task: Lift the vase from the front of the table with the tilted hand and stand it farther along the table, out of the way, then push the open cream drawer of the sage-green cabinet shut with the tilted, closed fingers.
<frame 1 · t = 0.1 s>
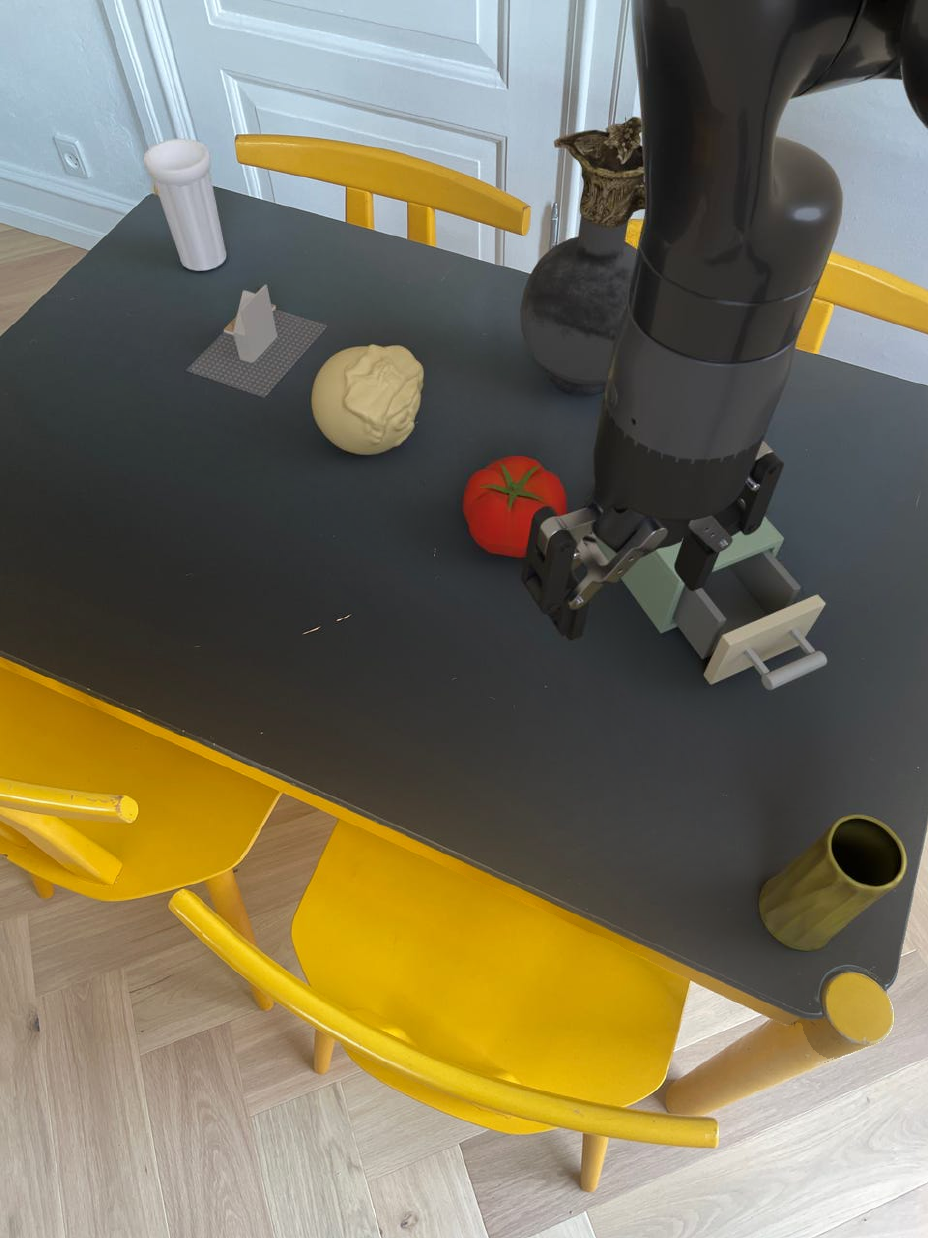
hand: (628, 603, 52), 27 cm above the table, tool pointing down, fingers open, 8 cm apart
tomato: (511, 532, 91), on the table
cabinet: (672, 564, 88), on the table
sculpture: (370, 434, 99), on the table
architectural model: (258, 348, 107), on the table
pitcher: (593, 381, 105), on the table
drawer: (740, 611, 80), point 4 cm above the table, slide at 6.0 cm
cup: (204, 260, 118), on the table
vase: (795, 912, 69), on the table
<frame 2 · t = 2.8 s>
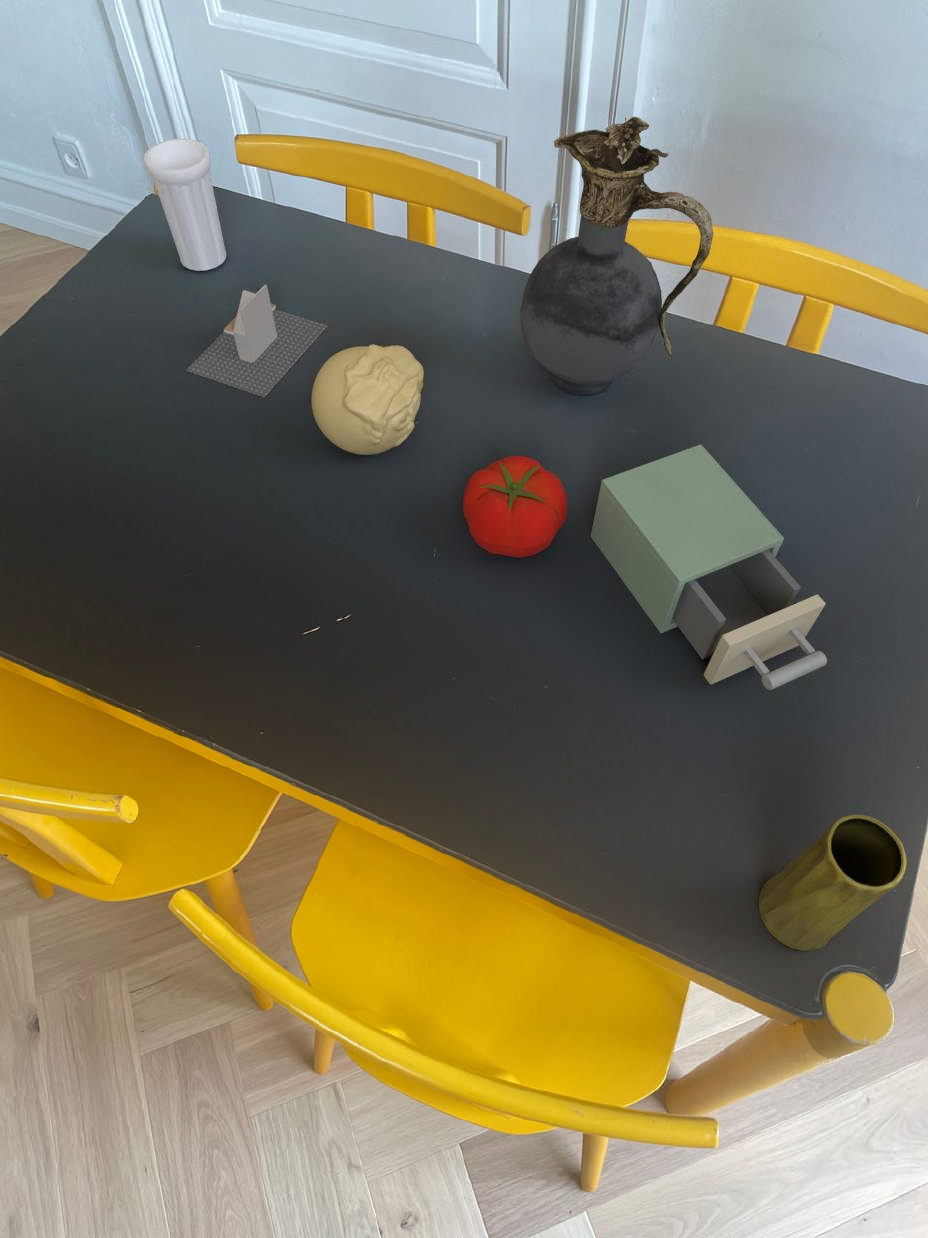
nothing on the table moved.
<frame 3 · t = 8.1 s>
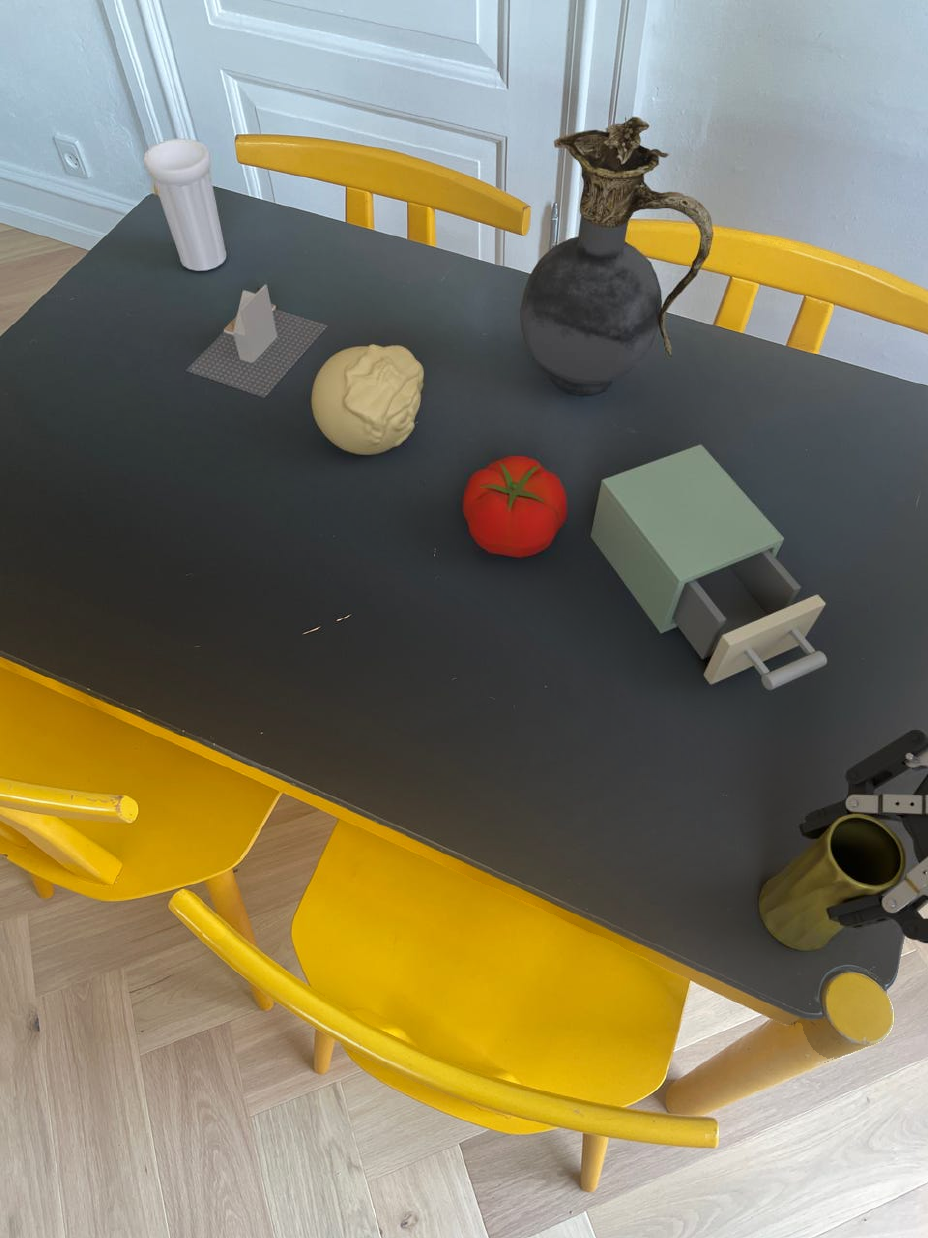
hand: (819, 873, 60), 10 cm above the table, tool tilted 45°, fingers closed on vase, 5 cm apart
vase: (795, 912, 69), on the table, touching gripper
everything else where it was.
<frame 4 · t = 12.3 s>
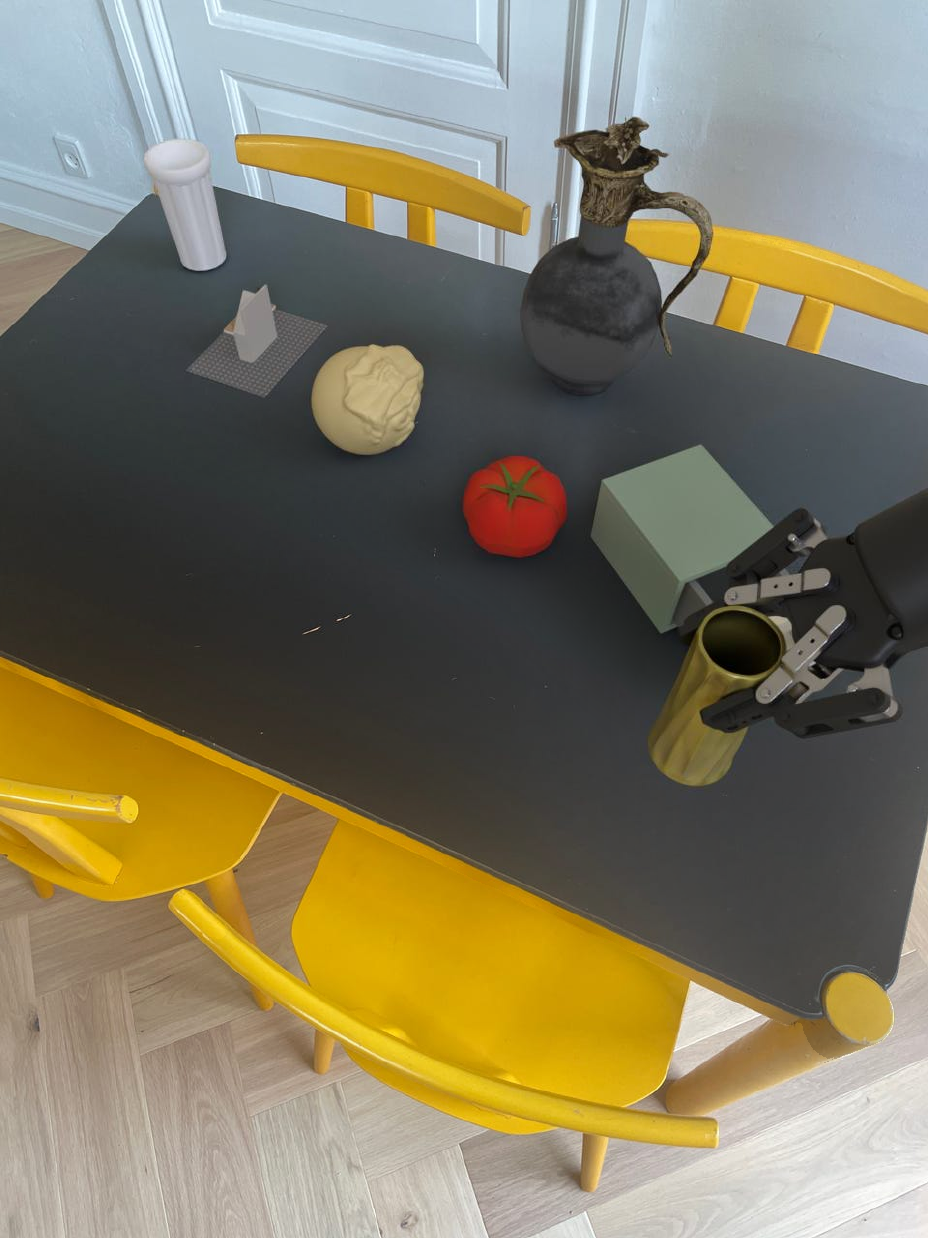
hand: (696, 679, 54), 23 cm above the table, tool tilted 45°, fingers closed on vase, 5 cm apart
vase: (688, 749, 62), point 13 cm above the table, touching gripper
everything else where it was.
when the fingers open (10 cm above the table, at t = 16.5 s): vase stays where it is, on the table.
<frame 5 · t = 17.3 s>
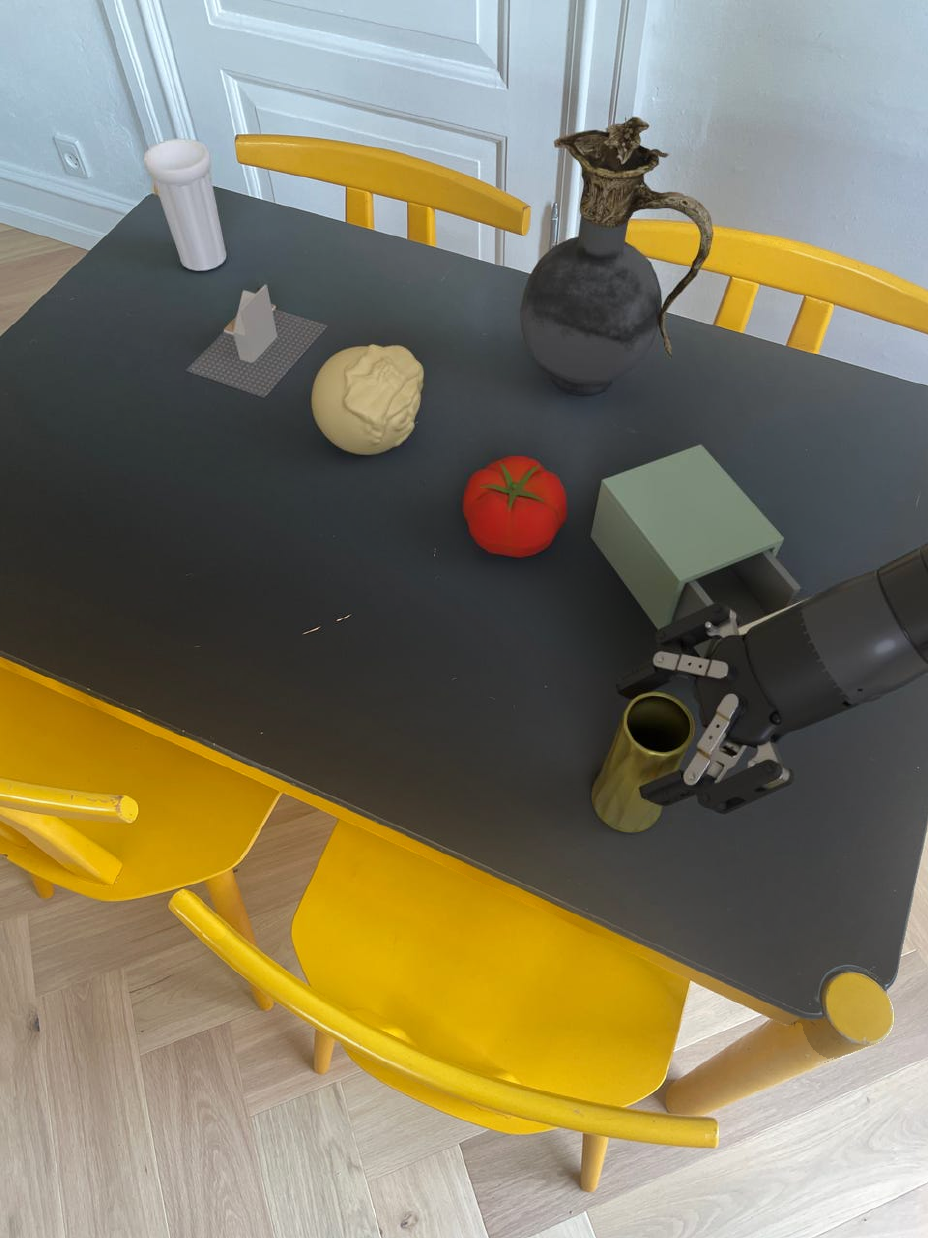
hand: (633, 742, 64), 11 cm above the table, tool tilted 45°, fingers open, 8 cm apart
vase: (626, 800, 74), on the table
everything else where it was.
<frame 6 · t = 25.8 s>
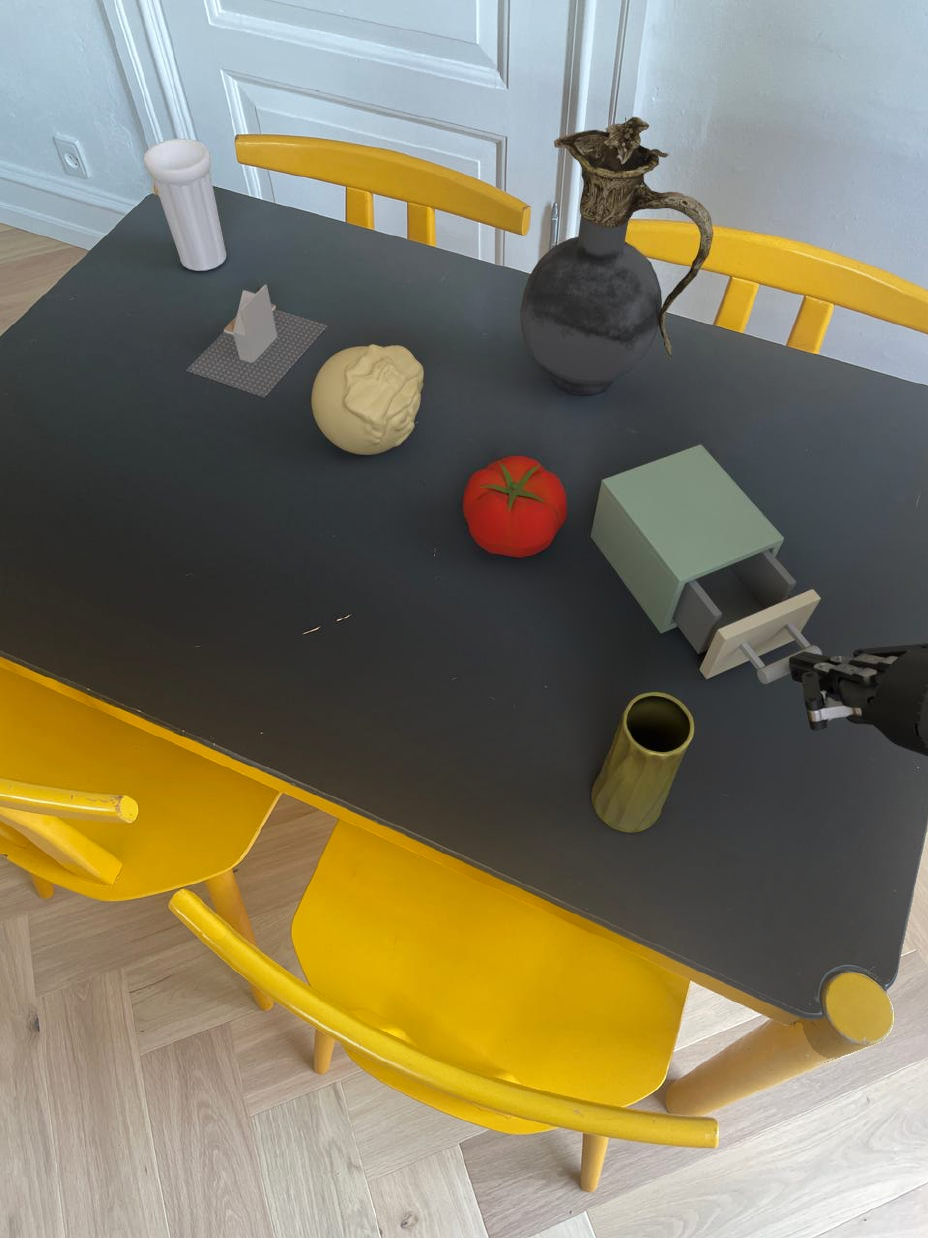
hand: (796, 665, 75), 6 cm above the table, tool tilted 45°, fingers closed
drawer: (735, 606, 80), point 4 cm above the table, slide at 5.3 cm, touching gripper
everything else where it was.
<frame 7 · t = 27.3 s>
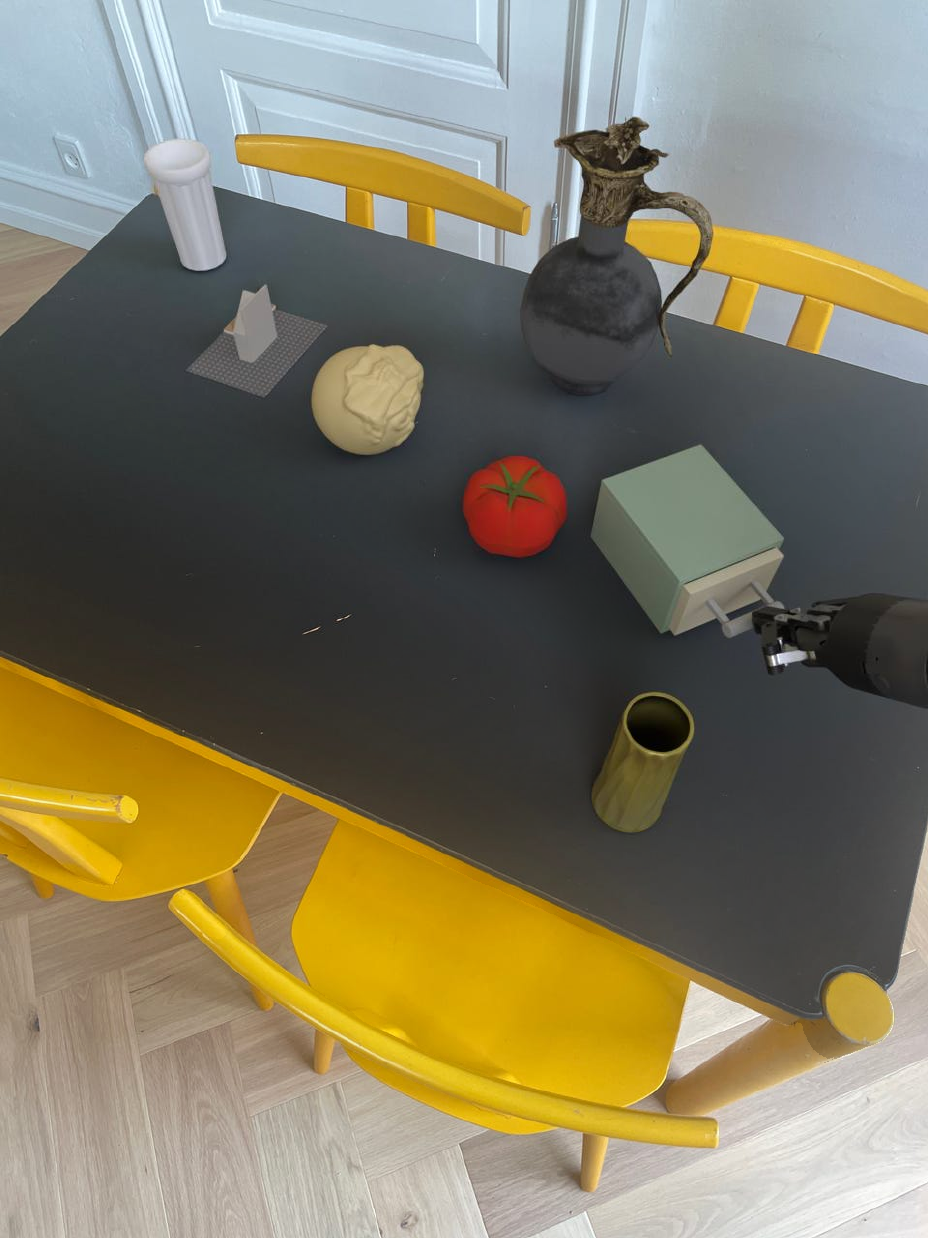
hand: (759, 619, 78), 6 cm above the table, tool tilted 45°, fingers closed
drawer: (703, 565, 83), point 4 cm above the table, slide at 0.0 cm, touching cabinet, gripper
everything else where it was.
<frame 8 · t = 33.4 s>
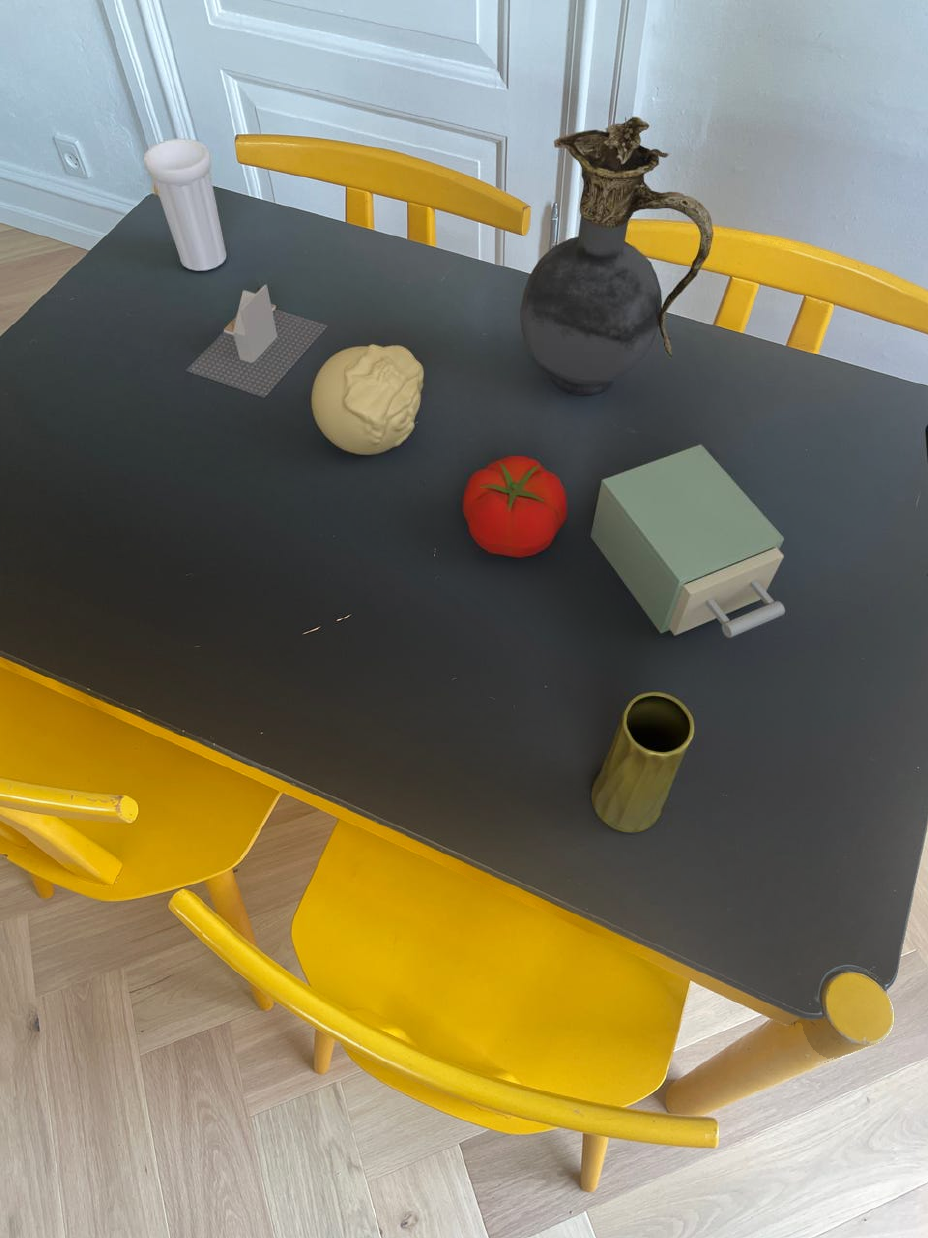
drawer: (703, 565, 83), point 4 cm above the table, slide at 0.0 cm, touching cabinet
everything else where it was.
at the end: drawer slide at 0.0 cm; vase 0.2 cm from the target spot, on the table; vase tilted 0° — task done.
